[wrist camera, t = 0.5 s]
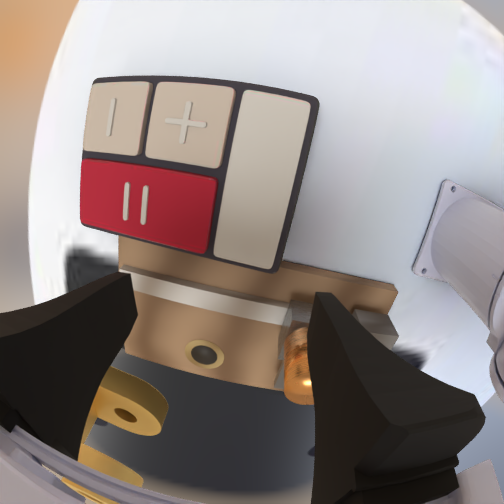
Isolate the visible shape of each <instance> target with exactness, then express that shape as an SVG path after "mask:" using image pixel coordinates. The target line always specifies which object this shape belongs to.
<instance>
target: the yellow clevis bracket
mask: <svg viewBox="0 0 504 504" xmlns="http://www.w3.org/2000/svg"><path fill="white" fill-rule="evenodd" d="M167 411H168V403H167V401H166V399H165V398H164V396H162V394H161V393H160V392H159V391H158V390H157V389H155V388H154V387H153V386H152V385H150V384H149V383H147V382H145V381H144V380H142V379H140V378H138V377H136V376H133V375H131V374H128V373H126V372H123V371H121V370H119V369H116V368H114V367H112V366H110V367H109V369H108V370H107V372H106V374H105V376H104V377H103V379H102V381H101V384H100V386H99V388H98V391H97V393H96V395H95V398H94V400H93V403H92V406H91V409H90V412H89V414H88V418H87V421H86V425H85V428H84V432H83V435H82V440H81V445H80V450H79V456H78V461H77V462H79V463H81V464H84V465H86V466H88V467H90V468H92V469H94V470H97V471H99V472H101V473H104V474H106V475H108V476H111V477H113V478H116V479H119V480H121V481H124V482H127V483H129V484H132V485H135V486H138V487H142V484H143V479H142V477H141V476H140V475H138V474H137V473H136V472H134V471H133V470H131V469H130V468H128V467H127V466H124V465H123V464H121V463H120V462H118V461H116V460H114V459H112V458H111V457H108V456H107V455H105V454H103V453H101V452H99V451H97V450H95V449H93V448H91V447H89V446H87V445H85V444H84V442H85V440H86V438H87V436H88V434H89V432H90V430H91V428H92V426H93V425H94V423H95V421H96V419H97V417H99V418H101V419H103V420H105V421H107V422H109V423H111V424H114V425H116V426H118V427H120V428H123V429H125V430H128V431H130V432H133V433H136V434H140V435H148V436H150V435H156V434H158V433H159V432H160V431H161V428H162V425H163V422H164V419H165V417H166V414H167ZM61 481H62V482H63V483H65V484H66V485H67V486H69V487H70V488H71V489H73V490H74V491H76V492H78V493H79V494H81V495H82V496H84V497H86V498H88V499H90V500H92V501H94V502H96V503H98V504H120V503H117V502H115V501H112V500H110V499H108V498H105V497H103V496H101V495H98V494H96V493H94V492H92V491H90V490H88V489H86V488H84V487H82V486H80V485H78V484H76V483H74V482H72V481H70V480H68V479H66V478H65V477H63V478H62V480H61Z"/></svg>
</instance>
